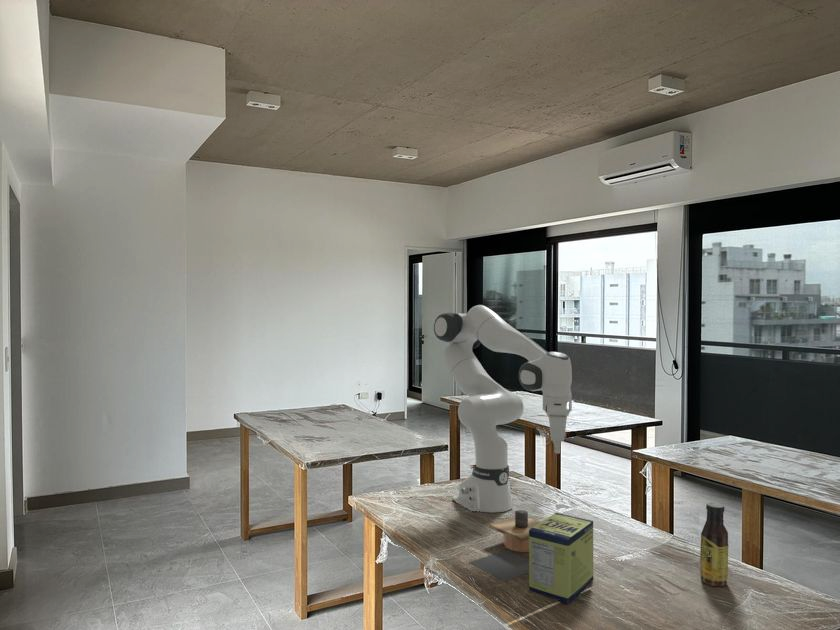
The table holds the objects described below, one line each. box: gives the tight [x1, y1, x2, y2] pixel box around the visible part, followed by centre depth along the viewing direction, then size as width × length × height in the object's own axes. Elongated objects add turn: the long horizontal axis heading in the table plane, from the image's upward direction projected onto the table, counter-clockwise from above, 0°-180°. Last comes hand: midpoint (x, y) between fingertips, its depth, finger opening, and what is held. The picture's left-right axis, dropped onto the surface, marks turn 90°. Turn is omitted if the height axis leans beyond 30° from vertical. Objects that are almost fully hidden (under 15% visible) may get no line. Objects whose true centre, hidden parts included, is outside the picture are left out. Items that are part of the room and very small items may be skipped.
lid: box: [488, 509, 542, 542], centre depth 176 cm, size 13×13×5 cm
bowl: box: [502, 533, 529, 553], centre depth 176 cm, size 10×10×5 cm
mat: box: [468, 549, 529, 582], centre depth 163 cm, size 14×14×1 cm
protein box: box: [528, 512, 594, 605], centre depth 151 cm, size 10×16×16 cm
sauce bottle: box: [699, 501, 729, 587], centre depth 153 cm, size 7×6×20 cm
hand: (556, 449), depth 190 cm, fingers open, 8 cm apart
